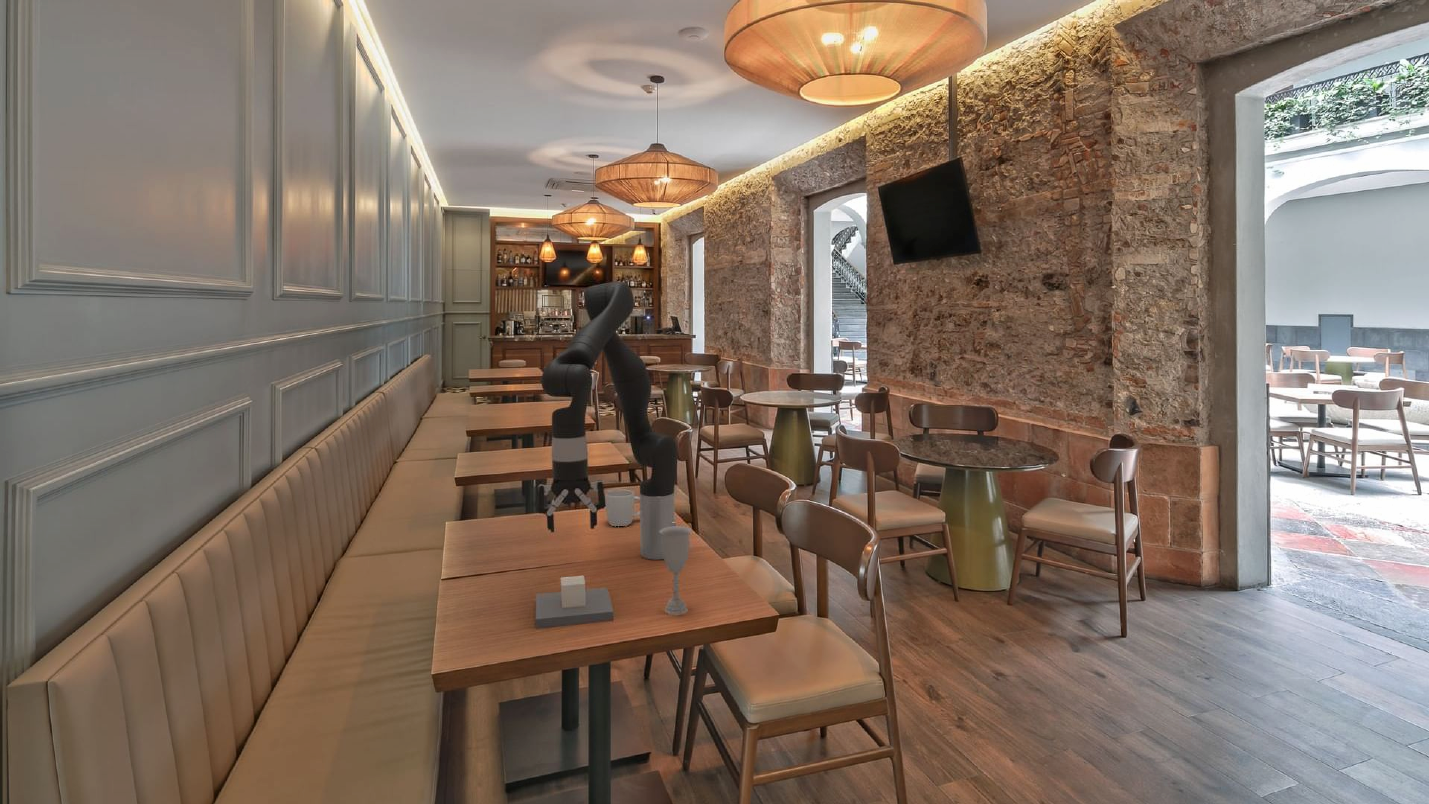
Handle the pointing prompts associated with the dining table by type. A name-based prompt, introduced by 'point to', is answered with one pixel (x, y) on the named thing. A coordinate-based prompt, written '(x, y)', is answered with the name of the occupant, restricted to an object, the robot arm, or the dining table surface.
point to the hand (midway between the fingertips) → (572, 529)
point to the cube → (573, 591)
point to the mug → (620, 507)
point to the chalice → (675, 561)
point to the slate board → (573, 609)
